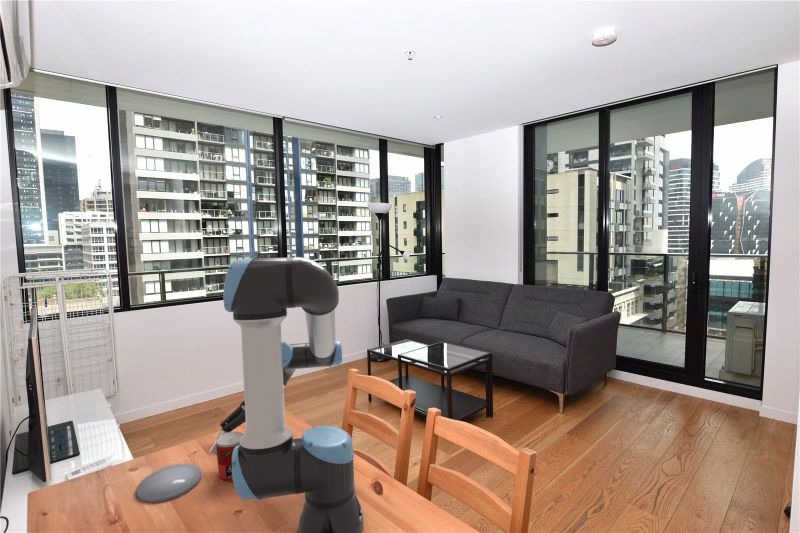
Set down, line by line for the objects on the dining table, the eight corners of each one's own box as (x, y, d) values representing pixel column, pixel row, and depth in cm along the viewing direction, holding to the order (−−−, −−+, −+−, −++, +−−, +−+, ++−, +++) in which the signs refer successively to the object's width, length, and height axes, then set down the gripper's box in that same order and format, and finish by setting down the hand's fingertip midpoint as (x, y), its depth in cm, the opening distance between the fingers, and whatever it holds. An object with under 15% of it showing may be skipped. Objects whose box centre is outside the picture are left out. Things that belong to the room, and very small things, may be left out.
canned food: (228, 485, 116) (225, 448, 115) (213, 475, 121) (210, 439, 120) (252, 471, 122) (250, 436, 121) (237, 462, 127) (234, 428, 126)
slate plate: (210, 481, 118) (210, 478, 118) (147, 511, 107) (147, 507, 106) (189, 460, 129) (188, 457, 129) (129, 485, 117) (129, 481, 117)
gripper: (299, 408, 124) (258, 481, 114) (252, 389, 140) (212, 451, 130) (284, 397, 120) (239, 472, 110) (237, 379, 135) (194, 442, 125)
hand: (224, 461), depth 120 cm, fingers open, 13 cm apart
